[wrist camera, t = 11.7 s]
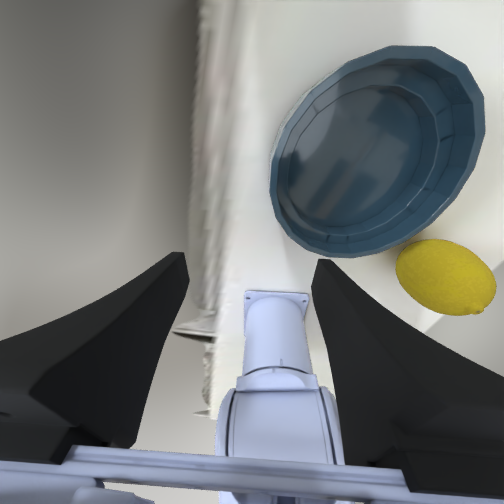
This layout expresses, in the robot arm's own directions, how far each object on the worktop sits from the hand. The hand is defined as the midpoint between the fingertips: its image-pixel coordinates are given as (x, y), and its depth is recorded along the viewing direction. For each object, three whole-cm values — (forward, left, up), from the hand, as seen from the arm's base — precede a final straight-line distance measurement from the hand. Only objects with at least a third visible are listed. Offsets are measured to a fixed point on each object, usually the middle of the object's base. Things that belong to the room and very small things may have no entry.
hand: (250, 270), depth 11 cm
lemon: (-4, -16, -10) cm, 19 cm away
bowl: (+4, -8, -9) cm, 13 cm away
